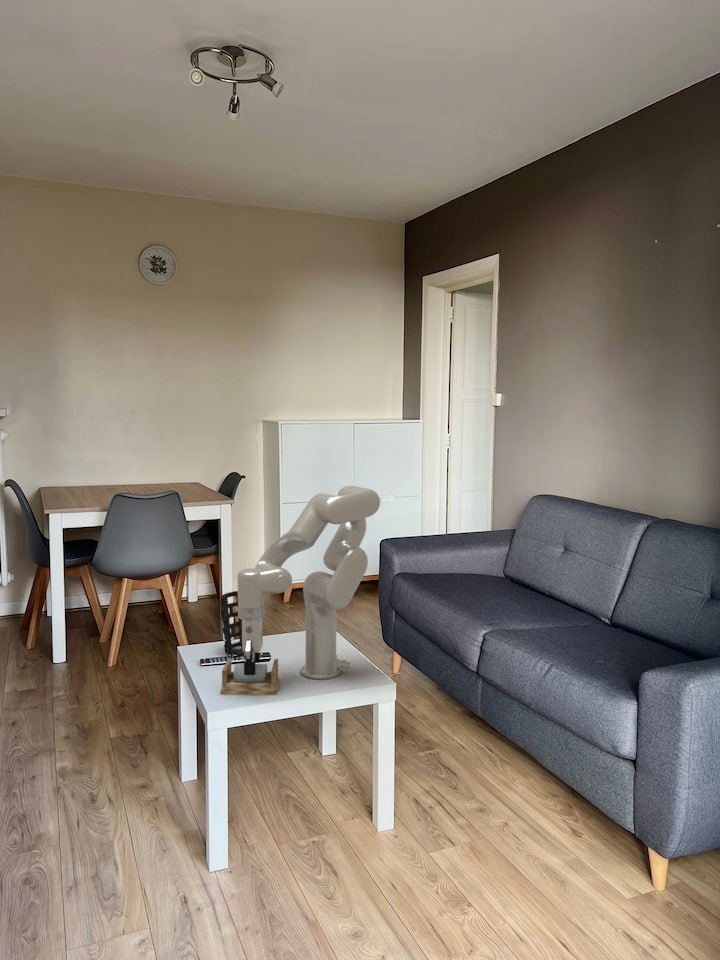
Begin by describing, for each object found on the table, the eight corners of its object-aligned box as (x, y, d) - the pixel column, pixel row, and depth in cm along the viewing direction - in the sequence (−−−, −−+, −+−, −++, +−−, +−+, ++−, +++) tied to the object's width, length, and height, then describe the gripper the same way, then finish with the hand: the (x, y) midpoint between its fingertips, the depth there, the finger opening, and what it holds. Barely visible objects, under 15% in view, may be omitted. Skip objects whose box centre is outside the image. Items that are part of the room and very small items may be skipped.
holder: (243, 657, 237) (237, 597, 235) (220, 658, 238) (214, 599, 236) (250, 647, 248) (244, 589, 246) (228, 648, 248) (223, 591, 247)
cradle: (279, 681, 217) (279, 659, 217) (276, 694, 207) (276, 671, 207) (226, 681, 217) (226, 658, 216) (220, 694, 207) (220, 670, 206)
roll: (268, 680, 215) (267, 661, 215) (265, 688, 209) (265, 668, 209) (236, 680, 215) (235, 660, 214) (232, 688, 209) (232, 668, 208)
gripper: (260, 620, 202) (261, 679, 203) (267, 603, 219) (268, 658, 221) (233, 620, 201) (234, 679, 203) (242, 603, 219) (243, 658, 220)
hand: (252, 668), depth 212 cm, fingers open, 9 cm apart
